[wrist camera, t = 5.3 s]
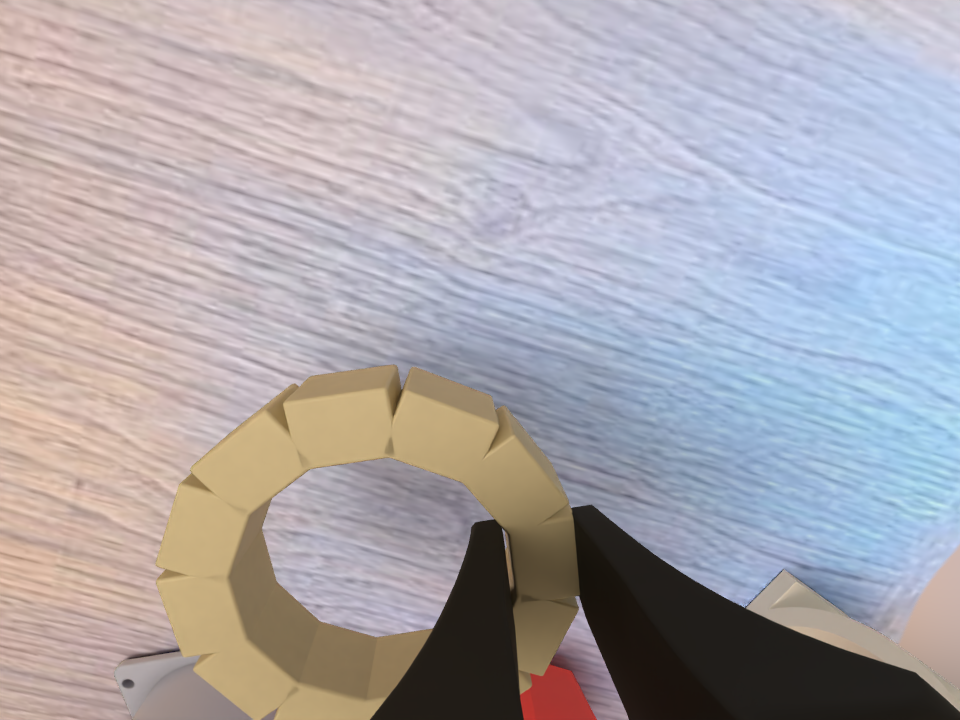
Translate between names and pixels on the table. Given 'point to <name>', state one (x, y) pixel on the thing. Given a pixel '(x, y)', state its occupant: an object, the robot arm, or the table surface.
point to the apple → (555, 697)
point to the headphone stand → (839, 629)
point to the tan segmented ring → (334, 441)
